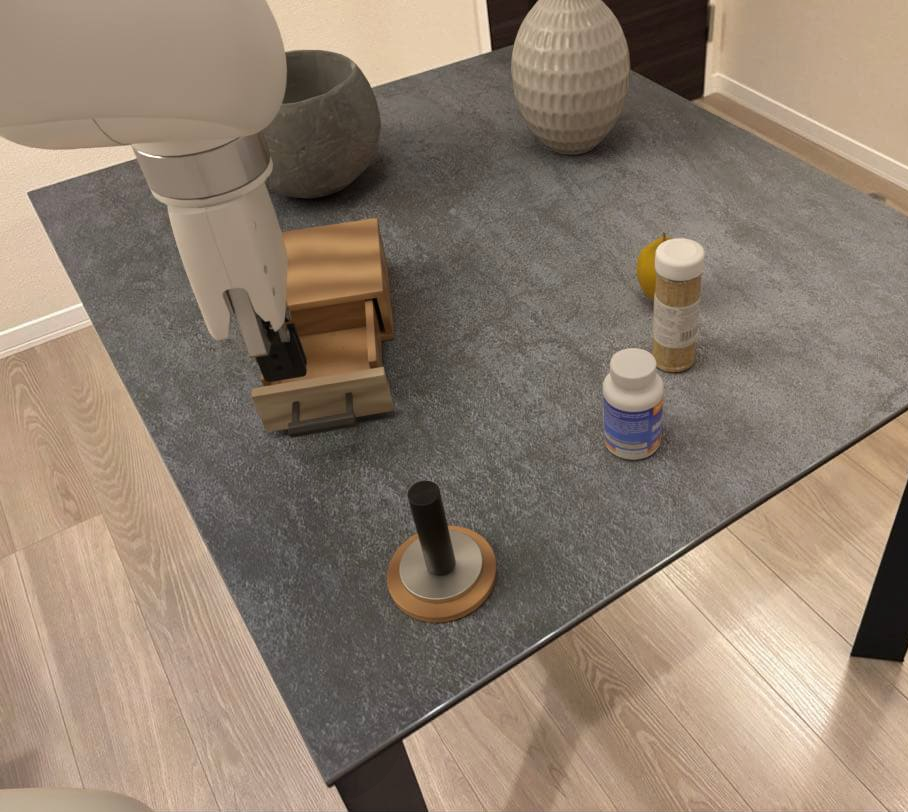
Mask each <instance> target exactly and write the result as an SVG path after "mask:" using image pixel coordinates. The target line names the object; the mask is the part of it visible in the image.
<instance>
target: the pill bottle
mask: <svg viewBox="0 0 908 812" xmlns="http://www.w3.org/2000/svg"><path fill="white" fill-rule="evenodd" d="M664 389H665V387H664V382H663V379H662V377H661V376H660V375H659V373H658V369H657V366H656V360H655V358H654V356H653V355H652V352H649V351H648V350H645V349H643V348H639V347H638V348H637V347H628V348H624V349H621V350H619V351H617V352H616V353H614V354H613V356H612V357H611V358H610V362H609V372H608V374H607V375H606V376H605V378H604V380H603V382H602V409H603V411H602V412H603V441H604V445H605V447H606V448H607V450H608V451H609V452H610V453H612V454H613V455H614V456H616V457H619V458H621V459H624V460H630V461H631V460H632V461H635V460H636V461H637V460H642V459H643V460H644V459H646V458H648V457H650V456H652V455H653V454H654V453H655V452H656V451H658V448H659V447H660V445H661V442H662V435H663V434H662V433H663V431H662V429H663V415H664V414H663V413H664V412H663V411H664V393H665V390H664Z"/></svg>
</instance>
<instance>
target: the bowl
mask: <svg viewBox="0 0 908 812" xmlns="http://www.w3.org/2000/svg"><path fill="white" fill-rule="evenodd" d="M285 55H286V65H287V80H286V89H285V94H284V99H283V102H282V105H281V107H280V110H279V111H278V113H277V115H276V117H275V118H274V119H273V121H272V122H271V123H270V124H269V125H268V126H267V127H266V128H264V129H263V133H264V137H265V140H266V143H267V146H268V149H269V153H270V156H271V159H272V162H273V169H272V172H271V174H270V176H269V177H268V178H267V179H266V181H265V185H266V188H267V191H268V192H272V193H274V194H278V195H281V196H285V197H289V198H295V199H317V198H322V197H326V196H329V195H333V194H336V193H339V192H340V191H342V190H344V189H346V188H347V187H348V186H349V185H350V184H351V183H353V182H354V181H355V180H356V179H357V178H358V177H359V176H360V175H361V174H362V173H364V172H365V171H366V170H367V168H368V167H369V165H370V164H371V162H372V160H373V158H374V156H375V154H376V152H377V149H378V146H379V142H380V137H381V131H382V122H381V121H382V120H381V114H380V110H379V105H378V101H377V98H376V96H375V93H374V90H373V88H372V85H371V83H370V82H369V80H368V78H367V77H366V75H365V74H364V72H363V71H362V69H361V68H360V67H359V66H358V64H357V63H355V62H354V61H353V60H352V59H351V58H350V57H348V56H346V55H345V54H342V53H339V52H334V51H329V50H324V49H294V50H287V51H285Z"/></svg>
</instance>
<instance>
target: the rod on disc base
mask: <svg viewBox="0 0 908 812" xmlns="http://www.w3.org/2000/svg"><path fill="white" fill-rule="evenodd" d="M407 499H408V503H409V507H410V511H411V515H412V519H413V522H414V527H415V530H416V534H418V537H419V538H418V539H417V540H415V541H414V542H413V543H412V544H411V545H410V546H409V547H408V548H407V549H406V551H405V552H404V554H403V556H402V559H401V562H400V577H401V580H402V583H403V585H404V587H405V589H406V590H407V591H408V592H409V593H410V594H411V595H412V596H414V597H415V598H417V599H419V600H421V601H424V602H428V603H446V602H450V601H453V600H456V599H458V598H460V597H462V596H464V595H465V594H467V593H468V592H469V591H470V590H471V589H472V588H473V587H474V586H475V585H476V584H477V582H478V580H479V579H480V577H481V574H482V570H483V557H482V553H481V550H480V548H479V546H478V545H477V543H476V542H475V541H474V540H473V539H472V538H471V537H469V536H468V535H466V534H464V533H461V532H458V531H453V530H449V529H448V519H447V515H446V512H445V507H444V502H443V498H442V493H441V489H440V487H439V485H438V484H437V483H435V482H434V481H431V480H420V481H418V482H416V483H413V484H412V485H411V486H410V488H409V489H408V491H407Z"/></svg>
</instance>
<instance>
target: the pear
mask: <svg viewBox="0 0 908 812" xmlns="http://www.w3.org/2000/svg"><path fill="white" fill-rule="evenodd" d="M666 236H667V234H666V232H665V231H663V232H662V237H659V238H658V237H657V238H656V239H655V240H653V241H651V242H650V243H648V244H647V245H645V246H644V247H643V248H642V249H641V250H640V252H639V254H638V256H637V259H636V278H637V282H638V284H639V287H640V289H641V291H642V292H643V293H644V294H645V295H646V297H647V298H648V299H649V300H650V301H652V302H654V295H655V289H656V269H655V253H656V249H657V247H658V246H659V245H660V244H661V243H663V242H665V241H667V240H670V239H674V238H673V237H666Z"/></svg>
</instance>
